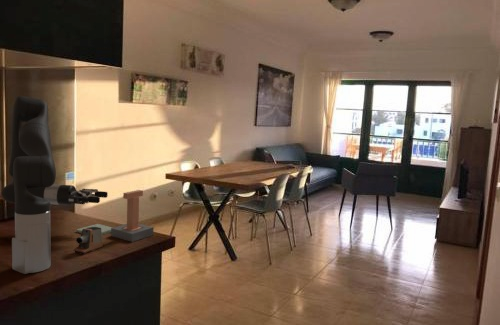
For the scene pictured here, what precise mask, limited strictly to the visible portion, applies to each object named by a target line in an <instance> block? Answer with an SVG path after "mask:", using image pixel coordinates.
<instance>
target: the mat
mask: <svg viewBox="0 0 500 325" xmlns="http://www.w3.org/2000/svg"><path fill="white" fill-rule="evenodd" d="M89 227H99V228H101V234H102V236H103V235H107V234H111V228H113V227H112V226H107V225H104V224H100V223H96V224H92V225H89V226H84V227H80V228H77V229H76V232H77V233H80V234H81V233H82V230H83V229H85V228H89Z"/></svg>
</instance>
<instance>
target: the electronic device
mask: <svg viewBox="0 0 500 325" xmlns="http://www.w3.org/2000/svg"><path fill="white" fill-rule="evenodd" d="M102 236H103V235H102V234H101V228H99V227H89V228H85V229H83V230H82V233H80V236H79V237H77V238H76V243H77V244H78V246H77V247H75V248H73V251H74V253H75V254H81V255H86V254H87V253H90V252H94V251H97V249H100V248H103V237H102Z"/></svg>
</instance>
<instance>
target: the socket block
mask: <svg viewBox="0 0 500 325" xmlns="http://www.w3.org/2000/svg"><path fill="white" fill-rule="evenodd" d="M125 227H127V223H125V224H121V225H117V226H115V227H112V228H111V232H110V237H113V238H117V239H120V240H124V241H128V242H131V243H133V242H134V243H135V242H136V241H139V240H143V239H145V238H148V237H151V236H154V227H153V226H150V225H146V224H142V223H138V227H142V228H141V229H138V230H135V231H130V230H126V229H123V228H125Z"/></svg>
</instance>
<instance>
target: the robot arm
mask: <svg viewBox="0 0 500 325" xmlns="http://www.w3.org/2000/svg"><path fill="white" fill-rule="evenodd" d="M11 121H12V122H11V123H12V124H11V152H10V159H9V166H8V175H9V176H10V177H12V183H10V184H7V185H5V186H4V187H3V188H2V190H1V194H0V195H1V197H2V199H3V200H4V201H5V202H7V203H9V204H14V237H12V238H11V257H12V259H11V260H12V262H11V264H12V265H11V266H12V270H14V271H15V272H18V273H20V274H23V275H27V274H29V273H30V274H34V273H39V272H43V271H45V270H48V269H49V268H51V265H52V264H51V263H52V260H51V259H52V258H51V255H52V254H51V253H52V252H51V251H52V250H51V249H52V248H51V246H52V245H51V205H56V206H57V205H58V206H59V205H60V206H72V205H75V204H76V205H85V204H89V203H91V204H99V203H100V201H101V200H100V199H101V198H103V199H105V198H108V191H101V190H98V189H93V188H82V189H79V190H77V188H76V187H75V185H71V184H55V181H56V177H57V171H56V164H55V160H54V157H53V152H52V142H51V140H52V139H51V133H50V127H49V106H48V103H47V102H46V101H45V100H43V99H41V98H35V97H30V96H26V95H25V96H24V95H18V96H17V97H16V98H15V100H14V103H13V108H12V120H11Z"/></svg>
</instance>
